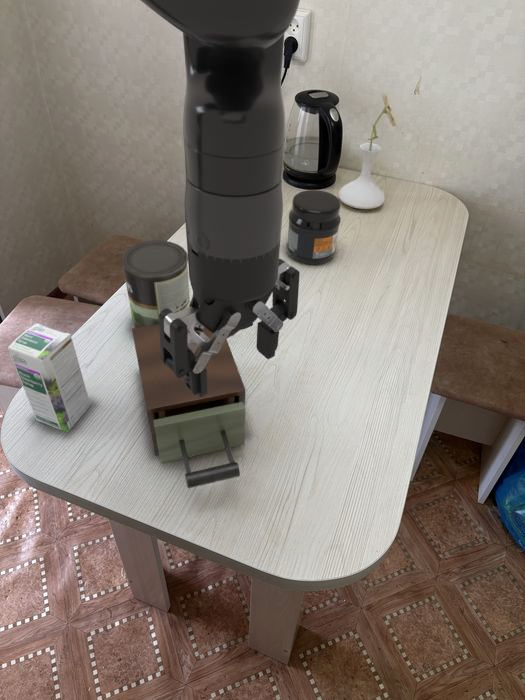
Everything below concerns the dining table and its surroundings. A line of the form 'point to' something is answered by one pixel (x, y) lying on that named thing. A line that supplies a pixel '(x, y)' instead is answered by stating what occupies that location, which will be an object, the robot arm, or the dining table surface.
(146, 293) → the coffee can
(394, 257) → the dining table surface
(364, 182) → the flower in vase
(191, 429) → the drawer
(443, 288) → the dining table surface
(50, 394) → the syrup box
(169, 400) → the cabinet
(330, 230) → the supplement container
